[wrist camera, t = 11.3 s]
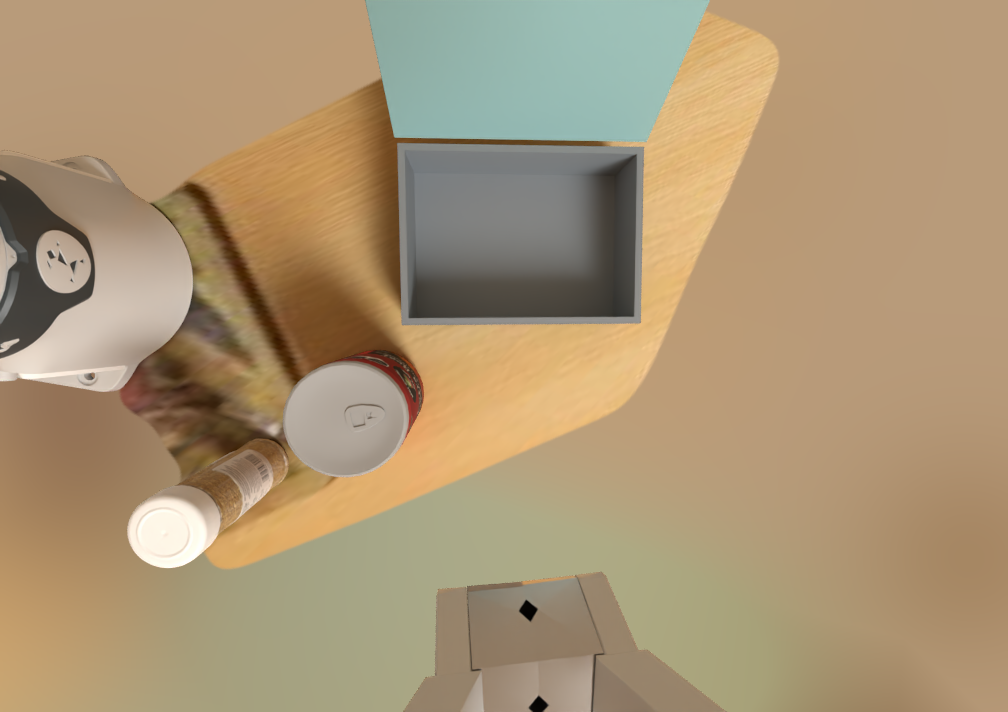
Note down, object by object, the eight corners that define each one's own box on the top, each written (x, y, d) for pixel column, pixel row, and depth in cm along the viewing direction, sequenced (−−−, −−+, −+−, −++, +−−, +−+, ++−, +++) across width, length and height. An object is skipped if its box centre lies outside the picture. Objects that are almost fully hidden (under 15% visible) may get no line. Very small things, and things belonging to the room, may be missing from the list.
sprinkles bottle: (229, 446, 41) (111, 509, 28) (281, 430, 41) (188, 486, 28) (247, 495, 41) (140, 581, 28) (298, 479, 42) (215, 557, 28)
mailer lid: (341, -113, 21) (342, -121, 21) (394, 137, 34) (394, 130, 34) (751, -92, 22) (748, -101, 22) (646, 141, 35) (645, 135, 35)
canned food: (440, 409, 42) (429, 442, 31) (360, 452, 42) (320, 500, 31) (398, 332, 41) (370, 338, 30) (315, 376, 41) (258, 398, 30)
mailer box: (412, 323, 41) (401, 325, 35) (408, 168, 40) (397, 143, 34) (617, 322, 42) (640, 323, 36) (619, 171, 41) (643, 147, 35)
